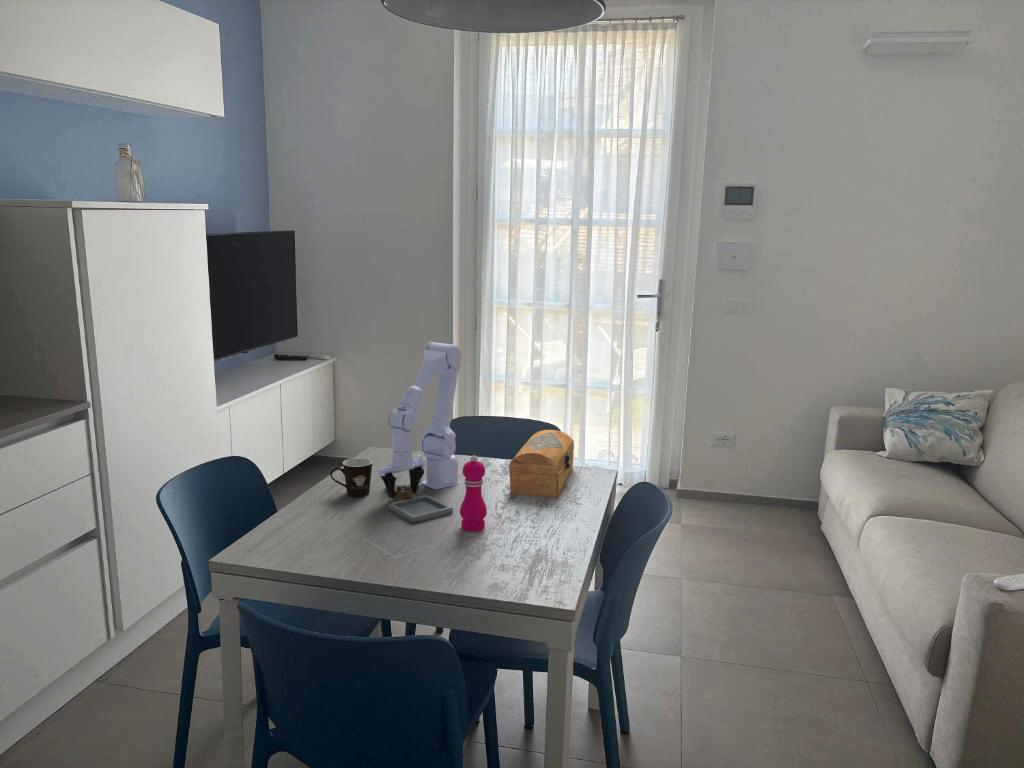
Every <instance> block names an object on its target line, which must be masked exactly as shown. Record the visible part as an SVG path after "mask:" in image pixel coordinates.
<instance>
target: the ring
mask: <svg viewBox="0 0 1024 768" xmlns="http://www.w3.org/2000/svg"><path fill="white" fill-rule="evenodd" d="M412 495H413V492H412V488H411V487H410V486H408V485H406V487H405V491H400V488H397V486H395V488H394V498H393V500H394V501H396V502H398V501H403V500H407V499H411V498H412Z"/></svg>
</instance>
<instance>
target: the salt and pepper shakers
mask: <svg viewBox="0 0 1024 768" xmlns="http://www.w3.org/2000/svg"><path fill="white" fill-rule="evenodd" d="M416 460H423V461H424V459H423V455H422V454H421V453H419V454H417V455H416V456H415V457H414V460H413V461H416ZM390 464H392V462H391V463H390ZM422 469H424V470H425V468H422ZM403 472H404V471H402V472H397V473H392V475H393V476H394V477H396V481H395V486H398V485H402V483H403ZM423 478H424V474H423V475H422V477H421V479H420V482H419V485H418V487H420V486H422V485H423V484H422V481H424V480H423ZM407 486H409V487H410V477H409V480H408V485H407Z"/></svg>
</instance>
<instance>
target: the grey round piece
mask: <svg viewBox="0 0 1024 768" xmlns="http://www.w3.org/2000/svg"><path fill="white" fill-rule="evenodd" d="M406 486H407V485H406V484H405V483H403V484H402V483H401V485H398V486H397V488H400V491H405V487H406ZM415 497H416V496H415V495H413V494H412V498H415ZM388 502H389V503H394V502H396V501H394V500H393V499H391V498H390V497H388Z"/></svg>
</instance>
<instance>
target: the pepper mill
mask: <svg viewBox="0 0 1024 768" xmlns="http://www.w3.org/2000/svg"><path fill="white" fill-rule="evenodd" d="M485 474H486V467H485V465H484V463H482V462H481V461H480V460H478V456H477V455H471V457H470V460H469V461H467V462H466V463H464V465H463V467H462V475H463V477H464V485H465V496H464V498H463V501H462V502H461V505H460V508H459V514H460V515H459V516H460V517H461V518H462V519H461V525H460V526H461V529H463V531H467V532H480V531H483V530H484V529H485V527H486V524H485V523H486V520H485V518H486V516H487V515H488V508H487V505H486V502H485V500H484V498H483V494H482V486H483V485H484V478H483V477H485Z"/></svg>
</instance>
